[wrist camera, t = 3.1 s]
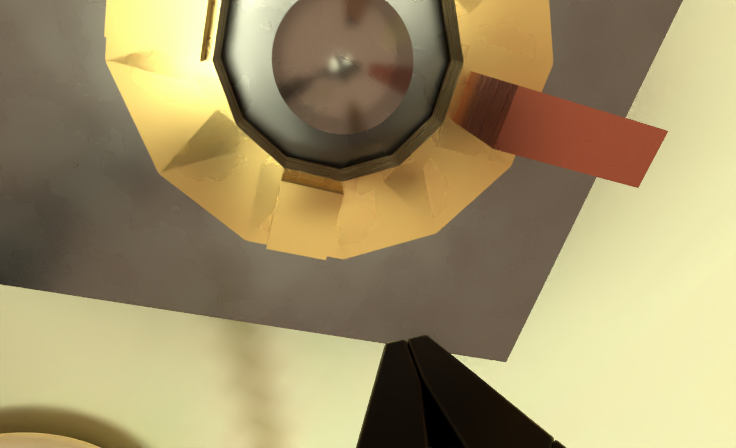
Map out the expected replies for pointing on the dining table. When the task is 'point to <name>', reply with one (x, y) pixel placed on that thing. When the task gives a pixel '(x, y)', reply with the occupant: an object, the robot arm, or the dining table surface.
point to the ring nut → (373, 178)
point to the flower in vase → (40, 441)
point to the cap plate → (300, 141)
